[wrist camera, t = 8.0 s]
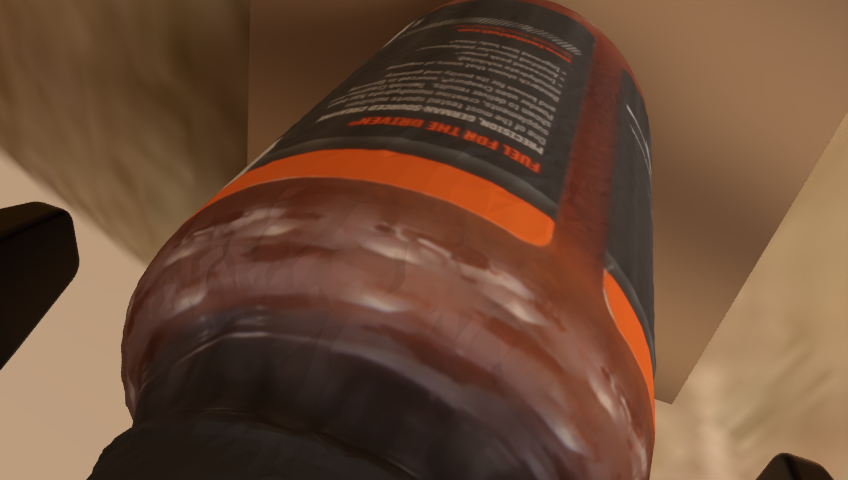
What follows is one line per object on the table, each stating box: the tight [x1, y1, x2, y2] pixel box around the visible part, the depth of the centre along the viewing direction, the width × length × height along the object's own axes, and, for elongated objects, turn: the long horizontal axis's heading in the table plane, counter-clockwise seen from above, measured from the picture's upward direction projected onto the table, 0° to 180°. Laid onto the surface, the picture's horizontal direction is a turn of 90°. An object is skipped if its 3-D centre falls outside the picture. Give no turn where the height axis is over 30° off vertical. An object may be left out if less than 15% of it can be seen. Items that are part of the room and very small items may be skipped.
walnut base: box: [247, 0, 848, 404], centre depth 14 cm, size 12×12×1 cm
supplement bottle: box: [87, 0, 656, 480], centre depth 9 cm, size 6×6×11 cm
